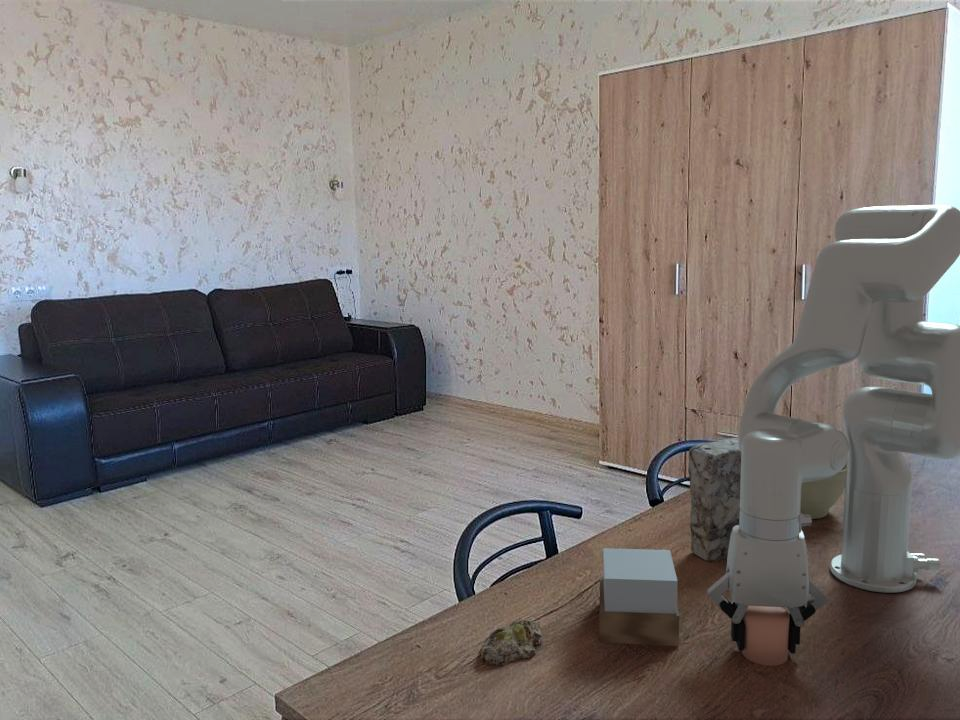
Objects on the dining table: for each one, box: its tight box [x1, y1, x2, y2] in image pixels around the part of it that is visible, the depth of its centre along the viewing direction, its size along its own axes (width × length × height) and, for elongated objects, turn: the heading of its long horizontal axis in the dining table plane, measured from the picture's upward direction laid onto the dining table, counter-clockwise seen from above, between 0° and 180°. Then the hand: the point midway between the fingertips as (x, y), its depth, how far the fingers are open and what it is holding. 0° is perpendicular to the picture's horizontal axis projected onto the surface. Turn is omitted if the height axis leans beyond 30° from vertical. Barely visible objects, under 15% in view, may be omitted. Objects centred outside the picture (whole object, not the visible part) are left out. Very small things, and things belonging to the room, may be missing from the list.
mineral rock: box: [480, 619, 543, 666], centre depth 107 cm, size 11×4×8 cm
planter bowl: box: [800, 464, 846, 520], centre depth 152 cm, size 16×16×11 cm
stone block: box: [688, 436, 741, 563], centre depth 134 cm, size 13×7×20 cm, turn 120°
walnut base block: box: [598, 575, 680, 647], centre depth 112 cm, size 11×11×5 cm
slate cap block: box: [602, 547, 678, 614], centre depth 111 cm, size 10×10×5 cm
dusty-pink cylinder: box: [741, 606, 790, 667], centre depth 103 cm, size 6×6×6 cm
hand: (764, 645), depth 104 cm, fingers closed on dusty-pink cylinder, 6 cm apart
